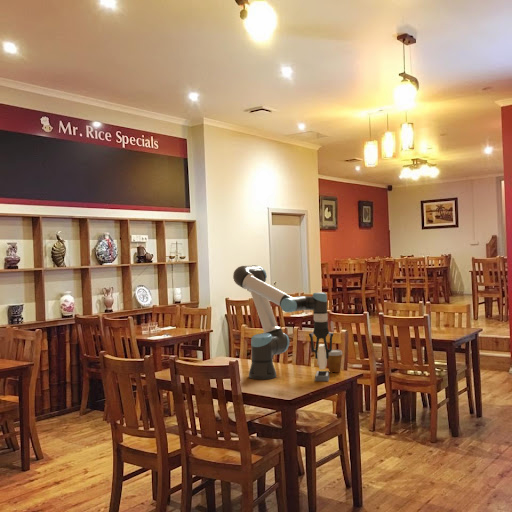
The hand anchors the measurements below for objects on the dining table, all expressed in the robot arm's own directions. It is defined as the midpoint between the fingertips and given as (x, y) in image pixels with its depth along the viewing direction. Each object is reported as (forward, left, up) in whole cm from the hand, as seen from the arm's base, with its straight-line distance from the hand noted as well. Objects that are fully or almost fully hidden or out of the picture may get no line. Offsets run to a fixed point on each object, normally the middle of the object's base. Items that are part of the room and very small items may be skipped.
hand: (322, 364), depth 296 cm
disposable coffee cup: (+6, +18, -8) cm, 20 cm away
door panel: (0, 0, -2) cm, 2 cm away
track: (0, 0, -7) cm, 7 cm away
